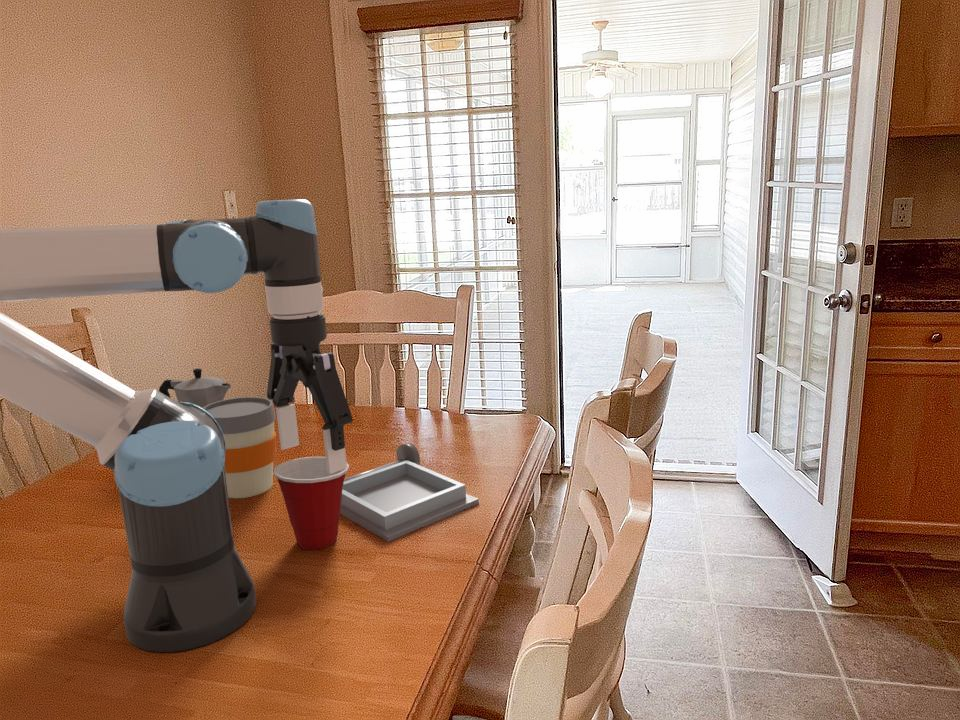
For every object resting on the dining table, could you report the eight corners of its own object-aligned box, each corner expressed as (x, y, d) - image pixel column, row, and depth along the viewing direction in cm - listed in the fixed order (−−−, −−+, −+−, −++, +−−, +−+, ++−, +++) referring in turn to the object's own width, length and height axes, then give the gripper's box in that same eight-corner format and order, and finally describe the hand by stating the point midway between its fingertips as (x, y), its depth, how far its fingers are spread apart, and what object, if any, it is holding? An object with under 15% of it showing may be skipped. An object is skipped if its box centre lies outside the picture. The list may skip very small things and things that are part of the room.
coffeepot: (250, 448, 147) (240, 363, 143) (226, 465, 138) (215, 375, 134) (182, 445, 150) (170, 362, 146) (155, 462, 141) (141, 374, 137)
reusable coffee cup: (296, 485, 127) (288, 404, 124) (231, 509, 119) (220, 423, 115) (259, 468, 136) (250, 392, 132) (196, 490, 127) (184, 409, 123)
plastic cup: (370, 533, 108) (364, 459, 106) (318, 565, 100) (310, 485, 97) (318, 518, 114) (311, 447, 111) (265, 547, 105) (256, 471, 103)
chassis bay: (379, 545, 105) (376, 514, 103) (302, 500, 121) (300, 472, 120) (486, 500, 118) (484, 472, 117) (404, 464, 135) (402, 439, 134)
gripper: (370, 319, 92) (383, 472, 97) (279, 301, 110) (294, 432, 115) (318, 328, 87) (334, 490, 92) (232, 309, 106) (250, 444, 111)
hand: (312, 458), depth 104 cm, fingers open, 13 cm apart
